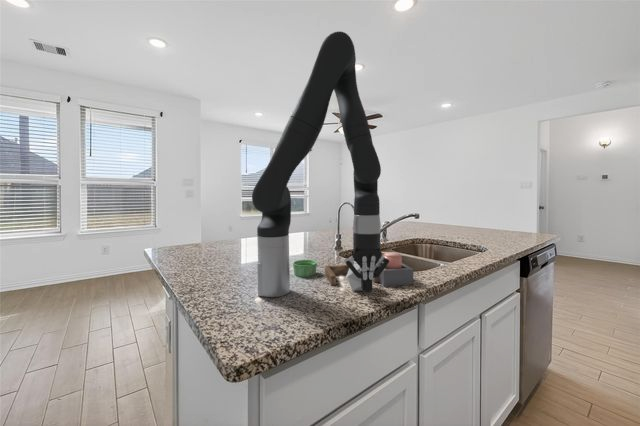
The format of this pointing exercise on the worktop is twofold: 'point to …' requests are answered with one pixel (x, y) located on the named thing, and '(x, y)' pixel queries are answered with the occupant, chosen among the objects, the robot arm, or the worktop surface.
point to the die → (354, 279)
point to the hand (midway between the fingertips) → (366, 291)
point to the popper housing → (396, 276)
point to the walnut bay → (339, 269)
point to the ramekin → (304, 268)
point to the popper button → (393, 260)
